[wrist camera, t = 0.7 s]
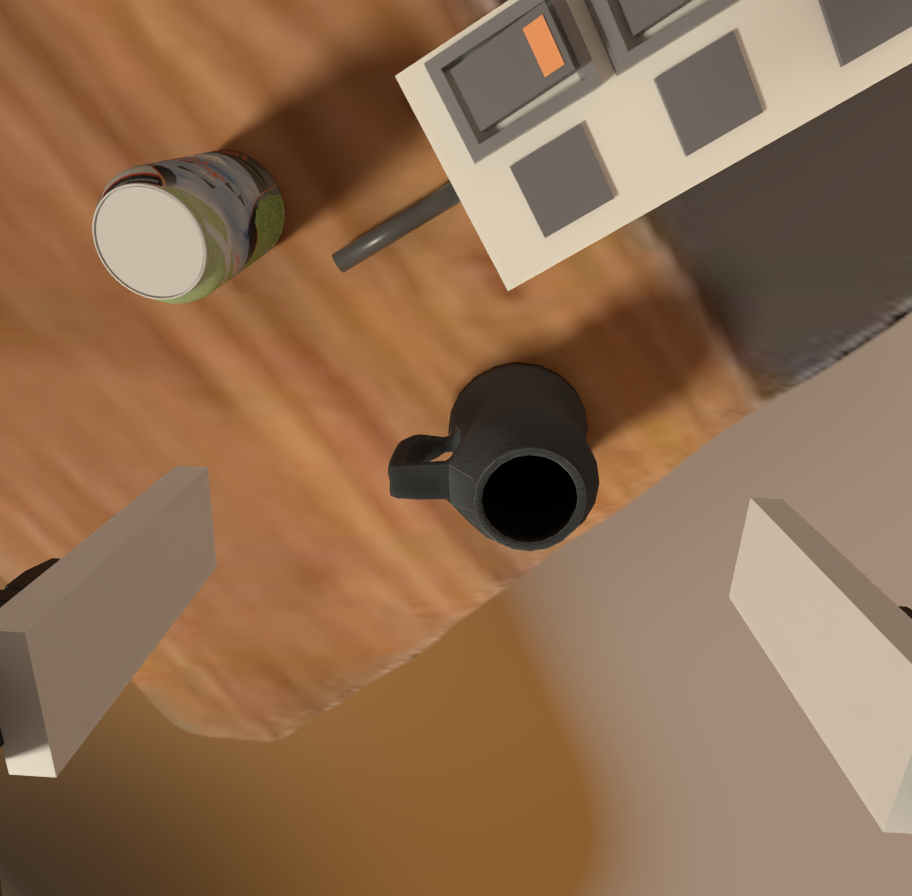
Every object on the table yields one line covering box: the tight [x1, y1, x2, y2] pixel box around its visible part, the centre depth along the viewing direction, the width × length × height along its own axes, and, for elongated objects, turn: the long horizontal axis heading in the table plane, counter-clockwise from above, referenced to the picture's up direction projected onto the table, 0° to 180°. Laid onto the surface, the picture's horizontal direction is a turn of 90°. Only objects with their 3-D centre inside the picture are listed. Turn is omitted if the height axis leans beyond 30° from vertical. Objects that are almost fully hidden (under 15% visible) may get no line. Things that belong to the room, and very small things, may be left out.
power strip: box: [332, 0, 912, 291], centre depth 33 cm, size 12×34×5 cm, turn 120°
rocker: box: [450, 1, 578, 132], centre depth 30 cm, size 3×5×2 cm, turn 120°
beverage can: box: [92, 150, 285, 303], centre depth 33 cm, size 6×7×12 cm
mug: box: [388, 362, 599, 551], centre depth 37 cm, size 12×9×11 cm
